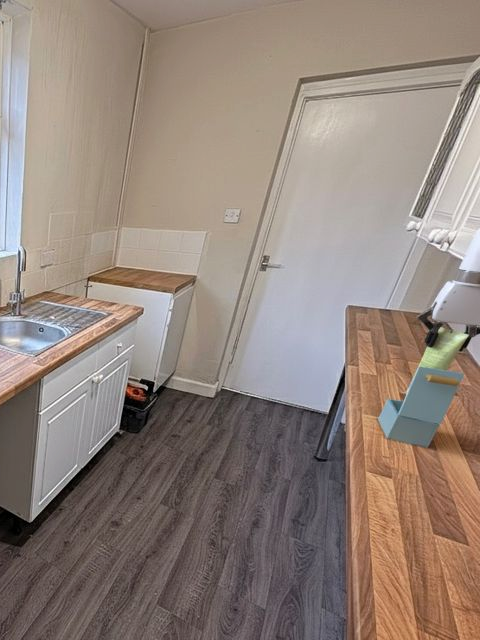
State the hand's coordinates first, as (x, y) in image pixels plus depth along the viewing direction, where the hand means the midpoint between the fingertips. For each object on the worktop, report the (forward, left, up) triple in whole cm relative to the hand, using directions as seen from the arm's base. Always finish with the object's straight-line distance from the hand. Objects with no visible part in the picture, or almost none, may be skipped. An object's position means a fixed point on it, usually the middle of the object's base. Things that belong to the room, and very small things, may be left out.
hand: (443, 347), depth 108 cm
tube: (0, 0, -15) cm, 15 cm away
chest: (0, 0, -27) cm, 27 cm away
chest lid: (0, +5, -12) cm, 13 cm away
